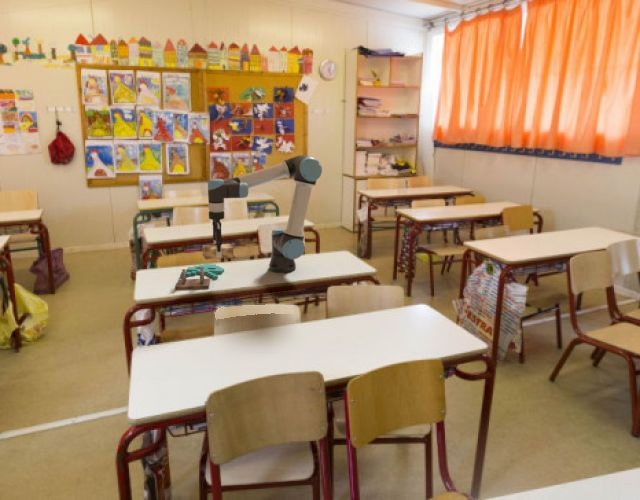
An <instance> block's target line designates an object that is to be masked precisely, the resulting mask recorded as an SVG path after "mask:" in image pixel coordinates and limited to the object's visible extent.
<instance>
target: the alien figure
mask: <svg viewBox="0 0 640 500" xmlns="http://www.w3.org/2000/svg"><path fill="white" fill-rule="evenodd" d="M202 268H203V269H204V276H206V275H207V277H209V278H210V279H212V280H218V279H219V275H223V274H224V272H225V268H222V267H221V266H219V265H217V264H214V263H213V264H212V263H204V264H199V265H193V266H189V267H187V268H186V269H185V270H186V278H190V277H191V276H195V277H196V276H197V275H200V269H202ZM179 278H180V279H182V277H181V273H180V274H179Z"/></svg>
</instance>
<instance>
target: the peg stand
mask: <svg viewBox="0 0 640 500" xmlns="http://www.w3.org/2000/svg"><path fill="white" fill-rule="evenodd" d="M186 273H187V272H186V269H185V268H182V270H181V273H180V274H181V277H182V278H180V279H178V280H177V282H176V285H175V290H176V291H177V290H178V291H179V290H204V289H205V290H208V289H210V284H211V278H210V277H209V278H205V275H204V269H203V268H202V269H200V274H199V278H188V279H187V277H186Z"/></svg>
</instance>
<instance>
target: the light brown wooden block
mask: <svg viewBox="0 0 640 500" xmlns="http://www.w3.org/2000/svg"><path fill="white" fill-rule="evenodd" d="M221 249H222V258H221V259H229V258H234V247H233V246H232V244H231V243H222V245H221ZM202 257H203V258H204V260H214V259H215V260H216V259H217V260H218V259H219V258H216V245H214V244H208V245H207V244H205V245H204V244H203V245H202Z"/></svg>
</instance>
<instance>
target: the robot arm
mask: <svg viewBox="0 0 640 500" xmlns="http://www.w3.org/2000/svg"><path fill="white" fill-rule="evenodd" d="M322 173H323V168H322V165H321V163H320V161H319V160H318V159H316V158H315V157H313V156H308V155H303V154H300V155H296V156H293V157H291V158H287V159H284V160H282V161H281V162H280V163H278V164H275V165H271V166H269V167H265V168H261V169H258V170H256V171H252V172H249V173H245V174H243V175H238V176H236V177H235V176H234V177H232V178H231V177H230V178H228V177H227V178H225V179H222V178H211V179H209V180H208V181H207V198H208V200H207V201H208V203H207V207H208V219H209V220H211V221H212V222H211V223H212V240H213V245H216V258H218V259H223V258H222V249H221V245H222V244H223V242H222V241H223V240H222V239H223V238H222V222H221V220H224V219H225V199H243V198H244V199H245V198H247V197H248V196H249V189H252V188H255V187H257V186H261V185H264V184H268V183H271V182H273V181H277V180H280V179H283V178H286V179H291V178H293V182H294V184H295V187H294V191H293V196H292V201H291V204H290V205H291V206H290V210H289V215H288V219H287V224H286V227H285V228H284V227H283V228H276V229H275V228H274V229H273V230H272V231H271V258H270V260H269V263H268V269H269V271H271V272H275V273H289V272H293V271H295V270H296V269H297V264H296V261H295V260H297V259H299V258H300V257H302V255H303V254H304V253H305V250H306V249H305V248H306V247H305V246H306V245H305V244H304V239H305V234H304V232H303V230H304V226H305V221H306V216H307V212H308V207H309V203H310V198H311V193H312V189H313V187H315V186H316V183H317V180H319V178H321V175H322Z"/></svg>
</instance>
